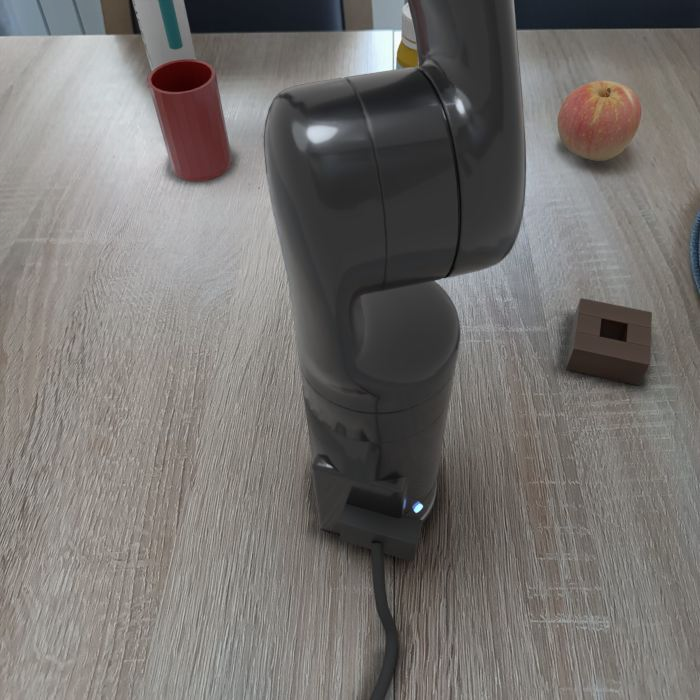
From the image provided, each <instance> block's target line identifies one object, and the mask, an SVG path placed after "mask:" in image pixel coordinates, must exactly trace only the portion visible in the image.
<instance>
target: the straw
mask: <svg viewBox="0 0 700 700" xmlns="http://www.w3.org/2000/svg"><path fill="white" fill-rule="evenodd" d="M158 2H159V7H160V11H161V15H162V19H163V23H164V27H165V31H166V36H167V40H168V44H169V48H170V49H180V48H182V47H183V44H182V39H181V35H180V30H179V26H178V21H177V17H176V12H175V8H174V3H173V0H158Z"/></svg>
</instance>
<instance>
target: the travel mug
mask: <svg viewBox="0 0 700 700" xmlns="http://www.w3.org/2000/svg"><path fill="white" fill-rule="evenodd" d="M131 1H132V5H133V8H134V12H135V15H136V20H137V22H138V27H139V30H140V35H141V38H142V41H143V45H144V50H145V53H146V56H147V61H148V64H149V67H150V71H151V72H152V71H153V70H154V69H155V68H157V67H159V66H161V65H163V64H165V63H168V62H171V61H177V60H186V59H193V60H197V57H196V52H195V47H194V42H193V38H192V34H191V28H190V23H189V19H188V13H187V9H186V4H185V0H173V3H174V8H175V12H176V17H177V21H178V26H179V30H180V35H181V39H182V44H183V47H182V48H180V49H170V48H169V44H168V40H167V36H166V31H165V27H164V23H163V19H162V15H161V11H160V7H159V2H158V0H131Z"/></svg>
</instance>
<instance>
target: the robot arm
mask: <svg viewBox="0 0 700 700" xmlns="http://www.w3.org/2000/svg"><path fill="white" fill-rule="evenodd" d="M406 1H407V3H408V5H409V9H410V14H411V18H412V23H413V28H414V33H415V39H416V45H417V55H418V67H416V66H415V67H413V68H412V67H408V68H402V69H396V68H395V69H389V70H382V71H377V72H371V73H370V72H369V73H363V74H357V75H350V76H345V77H338V78H337V77H336V78H331V79H325V80H319V81H313V82H307V83H302V84H297V85H293V86H290V87H286V88H285V89H283V90H281V91H279V92H278V93H277V94H276V95H275V97H274V98H273V100H272V102H271V103H270V104H269V107H268V110H267V114H266V117H265V122H264V129H263V153H264V154H263V155H264V167H265V177H266V181H267V187H268V191H269V192H268V193H269V198H270V204H271V209H272V214H273V218H274V223H275V228H276V232H277V237H278V241H279V247H280V251H281V255H282V259H283V264H284V268H285V273H286V278H287V282H288V288H289V296H290V302H291V310H292V318H293V327H294V333H295V341H296V343H295V344H296V350H297V351H296V353H297V358H298V365H299V373H300V379H301V388H302V396H303V403H304V409H305V417H306V418H305V419H306V425H307V432H308V439H309V445H310V446H309V448H310V453H311V460H312V461H311V462H312V463H311V475H312V482H313V488H314V489H313V490H314V497H315V504H316V509H317V517H318V524H319V525H318V526H319V528H320V529H322V530H324V531H327V532H331V533H334V534H338V535H339V536H340V541H342V542H344V543H348V544H351V545H355V546H358V547H362V548H365V549H368V550H370V551H371V552H370V553H371V572H372V585H373V588H372V589H373V595H374V602H375V608H376V612H377V615H378V619H379V621H380V622H381V625H382V627H383V631H384V635H385V647H384V649H385V650H384V655H383V660H382V661H383V663H382V666H381V670H380V673H379V675H378V678H377V681H376V683H375V686H374V688H373V691H372V694H371V696H370V697H369V700H385V697H386V695H387V693H388V691H389V688H390V685H391V681H392V679H393V676H394V672H395V668H396V663H397V659H398V657H397V656H398V648H399V647H398V646H399V635H398V629H397V625H396V623H395V620H394V617H393V615H392V613H391V610H390V607H389V601H388V595H387V588H386V587H387V586H386V573H385V572H386V571H385V555H389V556H391V557H395V558H399V559H401V560H405V561H407V562H412V563H414V562H415V559H416V555H417V552H418V548H419V544H420V540H421V533H422V529H423V528H422V527H423V523H425V522H426V520H427V519H428V517H429V516H430V514H431V512H432V510H433V507H434V505H435V501H436V496H437V489H438V487H437V486H438V475H439V469H440V463H441V462H440V461H441V457H442V449H443V443H444V437H445V431H446V425H447V419H448V413H449V408H450V401H451V396H452V391H453V385H454V378H455V372H456V366H457V361H458V357H459V350H460V345H461V321H460V317H459V314H458V310H457V308H456V306H455V304H454V301H453V300H452V297H450V295H449V293H447V292H446V290H445V289H444V288H443V287H442V286H441V285H440V284H439V283H438V282H437V281H439V280H442V279H448V278H454V277H459V276H462V275H467V274H473V273H476V272H479V271H483V270H486V269H488V268H491V267H494V266H497V265H498V264H500V263H501V262H502V261H503V260H504V259H505V258H506V257H508V256H509V254H510V253H511V251H512V250H513V248H514V246H515V244H516V242H517V239H518V236H519V233H520V231H521V226H522V222H523V218H524V213H525V212H524V211H525V203H526V188H527V147H526V146H527V143H526V142H527V141H526V140H527V139H526V127H525V115H524V113H525V112H524V100H523V97H524V96H523V87H522V76H521V75H522V74H521V64H520V63H521V62H520V53H519V42H518V31H517V20H516V12H515V11H516V10H515V9H516V8H515V0H406ZM384 554H385V555H384Z"/></svg>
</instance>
